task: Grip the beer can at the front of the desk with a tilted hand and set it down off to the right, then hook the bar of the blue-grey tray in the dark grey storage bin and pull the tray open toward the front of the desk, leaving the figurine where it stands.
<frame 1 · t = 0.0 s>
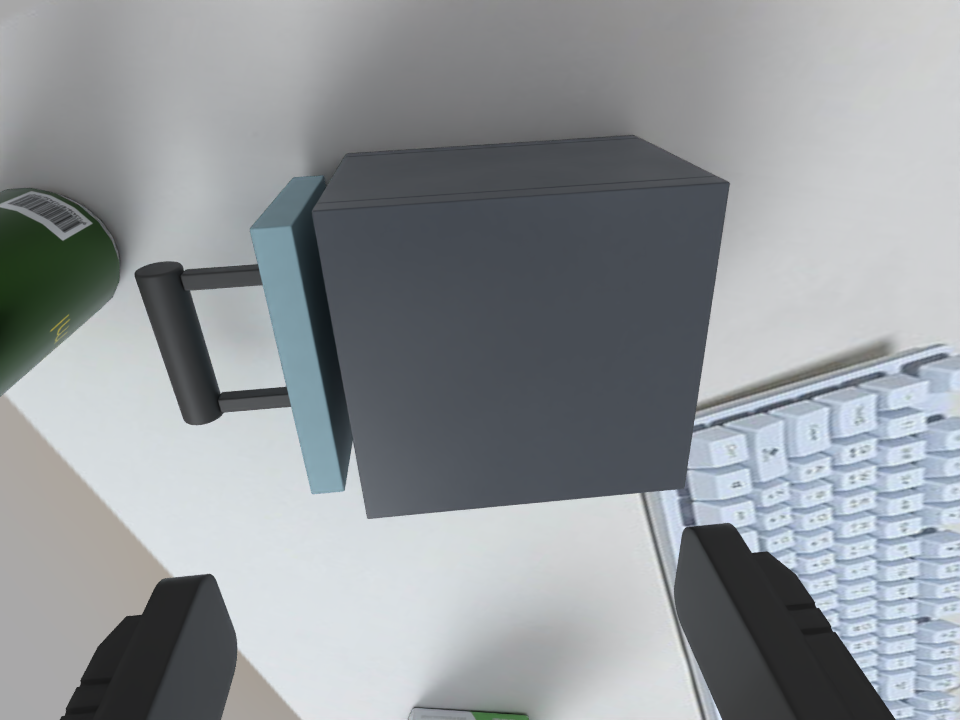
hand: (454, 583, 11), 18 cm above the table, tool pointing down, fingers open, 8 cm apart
dark grey storage bin: (496, 275, 27), on the table
drawer: (376, 326, 23), point 4 cm above the table, slide at 0.8 cm
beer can: (59, 248, 25), on the table
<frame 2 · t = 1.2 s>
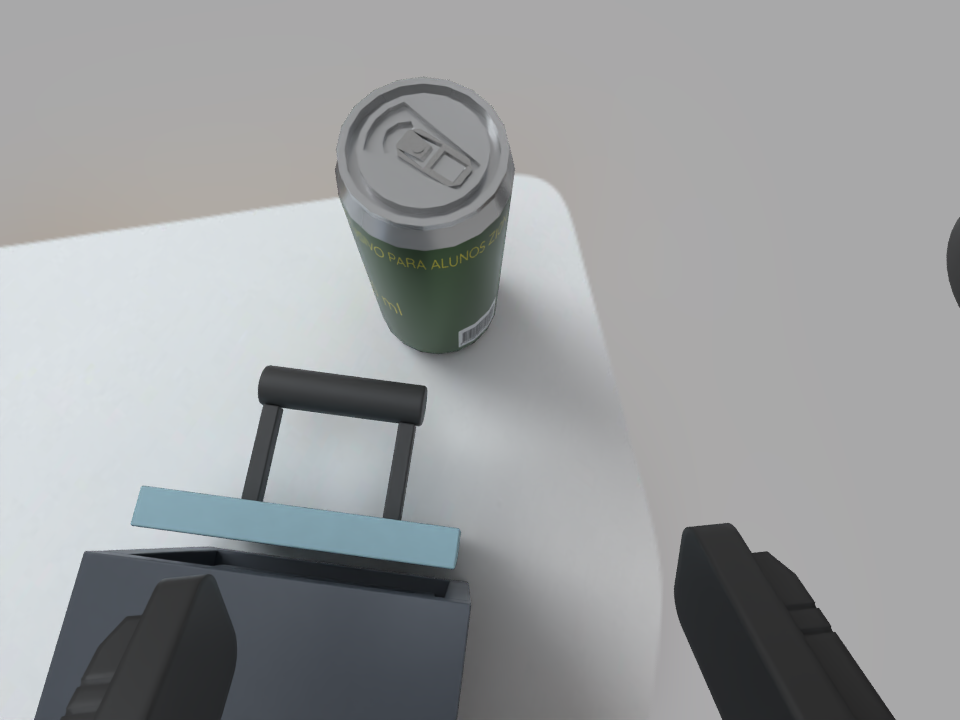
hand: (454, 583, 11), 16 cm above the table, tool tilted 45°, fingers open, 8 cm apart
dark grey storage bin: (308, 718, 24), on the table
drawer: (308, 592, 21), point 4 cm above the table, slide at 0.8 cm
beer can: (439, 305, 29), on the table
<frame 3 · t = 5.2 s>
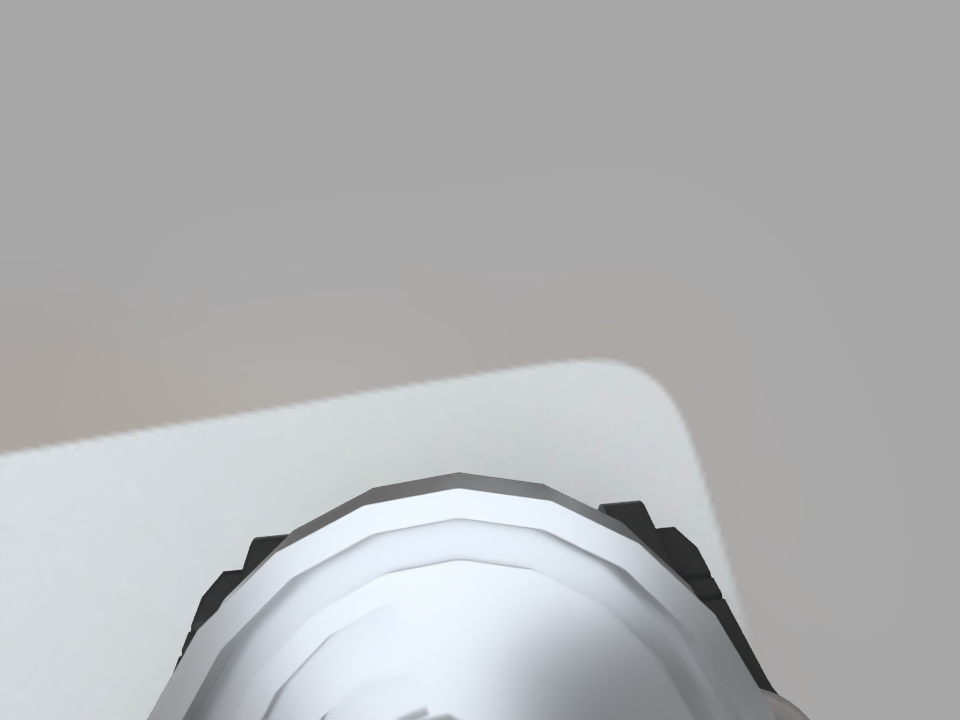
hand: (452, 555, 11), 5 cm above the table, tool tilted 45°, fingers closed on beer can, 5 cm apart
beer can: (462, 620, 16), on the table, touching gripper
when the fingers open (5 cm above the table, at t = 13.5 s): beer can stays where it is, on the table.
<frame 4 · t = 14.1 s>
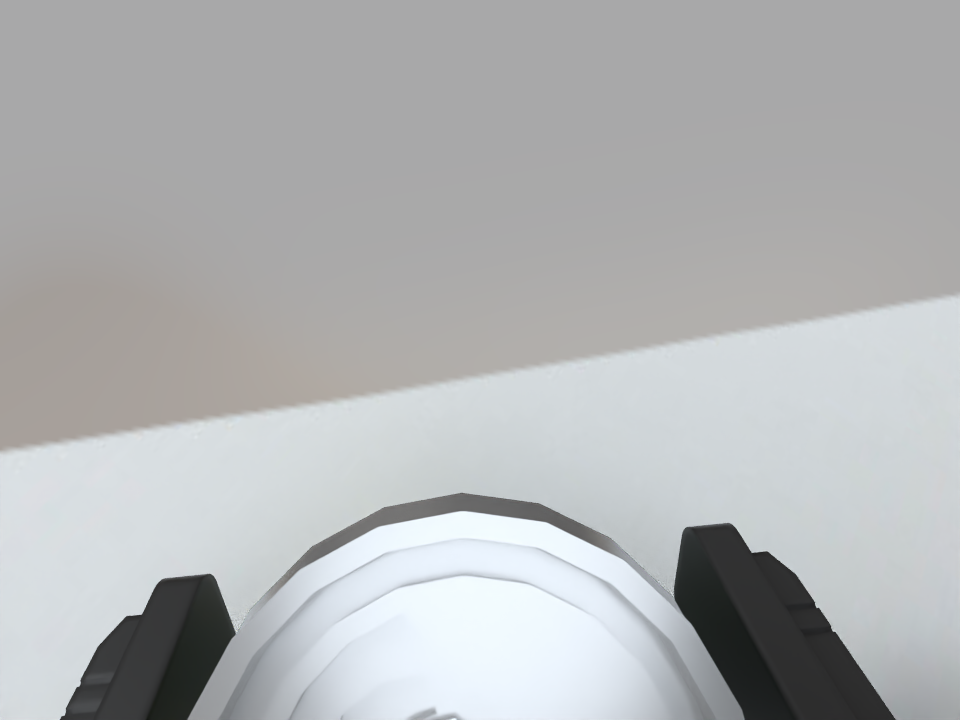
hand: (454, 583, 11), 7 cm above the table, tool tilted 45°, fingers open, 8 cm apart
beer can: (463, 623, 17), on the table
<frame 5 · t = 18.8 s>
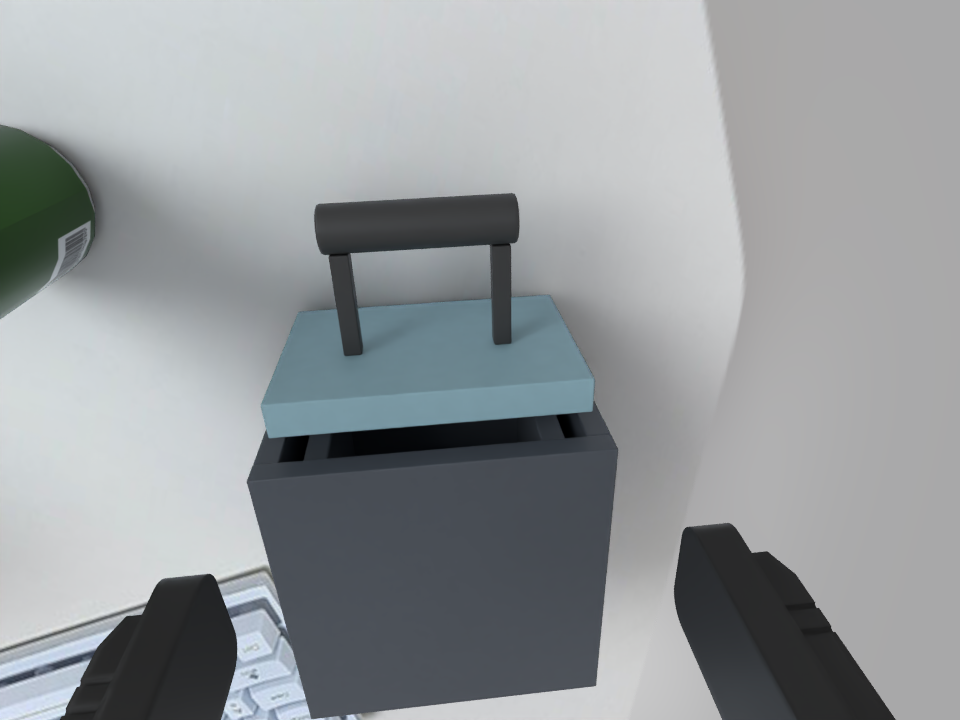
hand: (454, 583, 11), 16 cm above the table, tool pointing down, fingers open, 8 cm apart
dark grey storage bin: (437, 449, 28), on the table
drawer: (433, 408, 22), point 4 cm above the table, slide at 0.8 cm
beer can: (25, 198, 22), on the table
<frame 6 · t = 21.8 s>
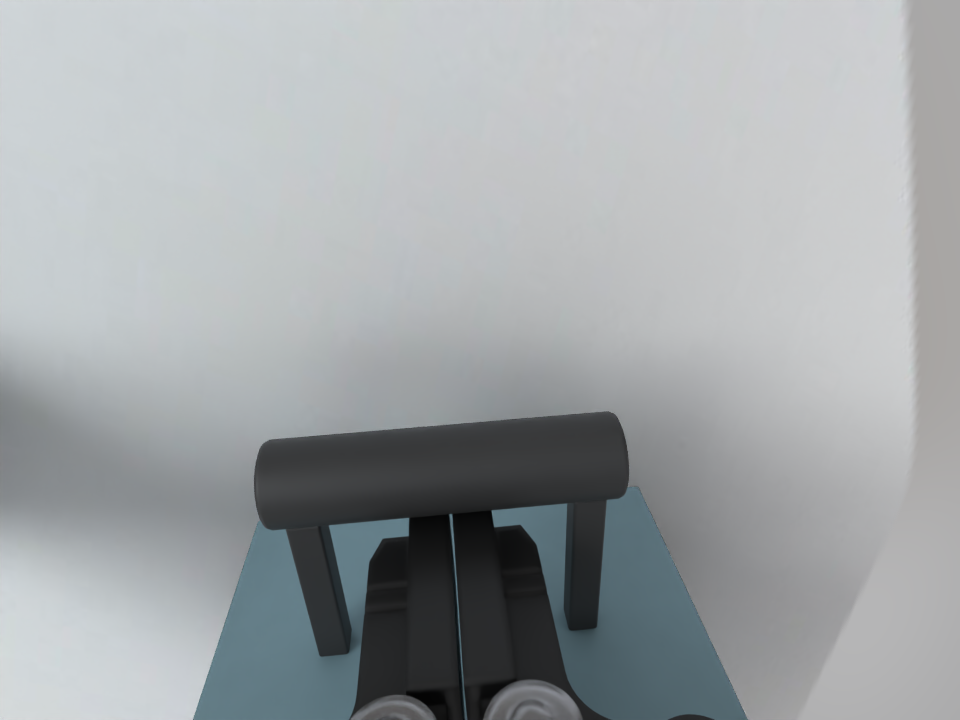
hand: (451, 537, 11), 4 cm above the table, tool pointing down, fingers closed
drawer: (465, 693, 14), point 4 cm above the table, slide at 1.7 cm, touching gripper
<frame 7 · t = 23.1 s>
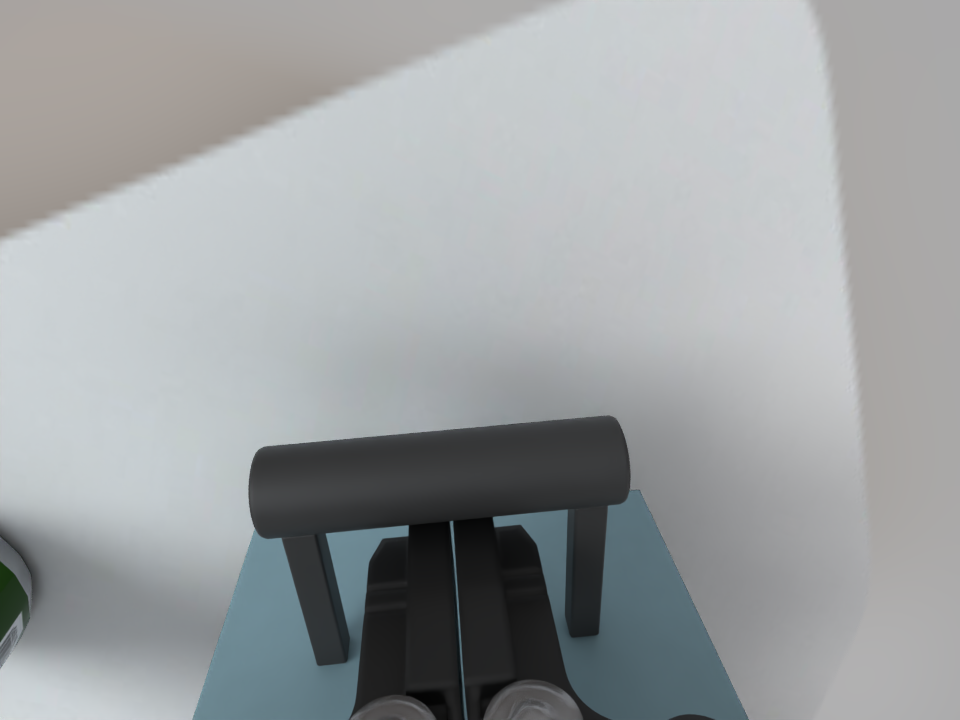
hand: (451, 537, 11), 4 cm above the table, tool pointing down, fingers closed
drawer: (465, 700, 14), point 4 cm above the table, slide at 6.7 cm, touching gripper
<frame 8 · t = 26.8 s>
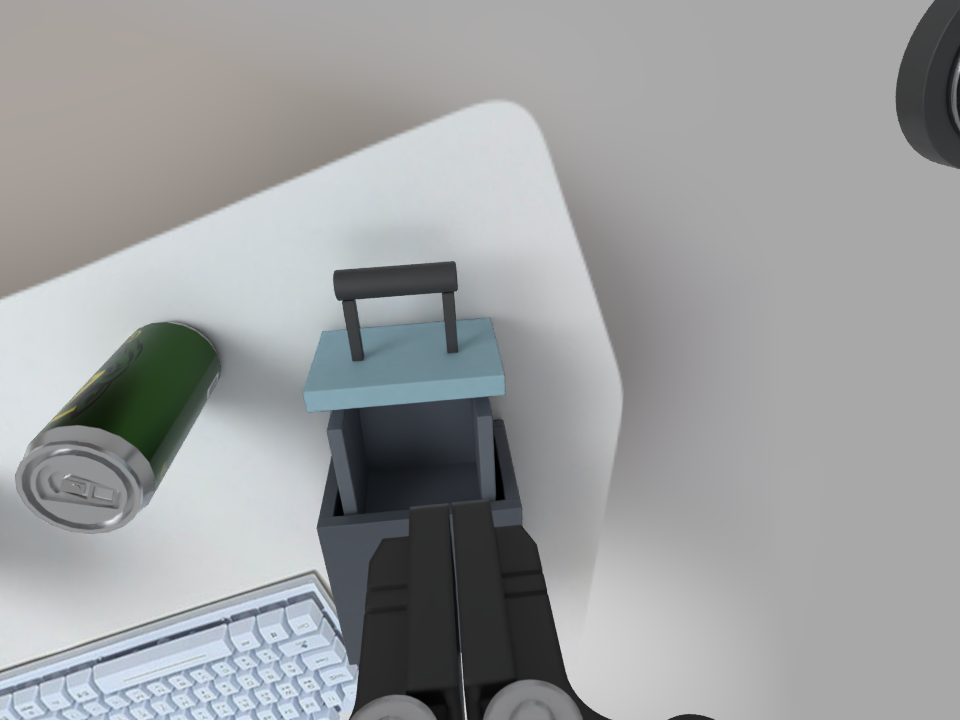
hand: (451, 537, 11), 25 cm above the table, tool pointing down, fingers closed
dark grey storage bin: (427, 493, 43), on the table
drawer: (411, 394, 34), point 4 cm above the table, slide at 6.7 cm
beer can: (178, 356, 37), on the table
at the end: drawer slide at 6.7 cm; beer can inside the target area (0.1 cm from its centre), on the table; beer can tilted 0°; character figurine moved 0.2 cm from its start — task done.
